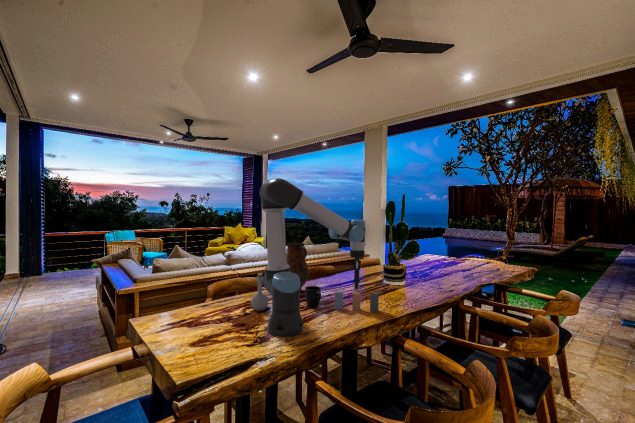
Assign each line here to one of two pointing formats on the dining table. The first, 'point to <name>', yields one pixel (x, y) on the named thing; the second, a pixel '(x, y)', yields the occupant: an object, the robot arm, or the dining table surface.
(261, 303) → the potion bottle
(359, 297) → the terracotta block
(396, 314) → the dining table surface
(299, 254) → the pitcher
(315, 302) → the mug
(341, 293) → the slate block
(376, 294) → the charcoal block
